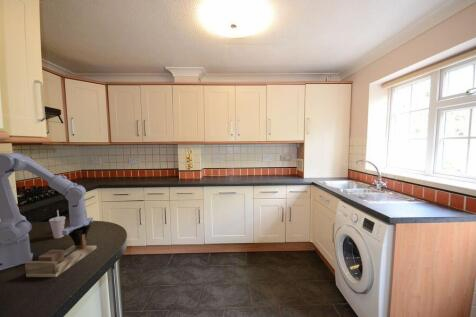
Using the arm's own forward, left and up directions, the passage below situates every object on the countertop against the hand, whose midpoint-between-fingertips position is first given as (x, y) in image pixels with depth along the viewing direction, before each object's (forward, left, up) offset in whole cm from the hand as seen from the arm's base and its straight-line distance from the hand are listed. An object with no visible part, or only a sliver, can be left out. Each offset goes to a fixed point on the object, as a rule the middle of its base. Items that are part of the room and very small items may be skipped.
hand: (80, 243), depth 91 cm
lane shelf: (-5, -6, -3) cm, 8 cm away
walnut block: (-5, -5, -2) cm, 8 cm away
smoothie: (-6, +26, -3) cm, 26 cm away
